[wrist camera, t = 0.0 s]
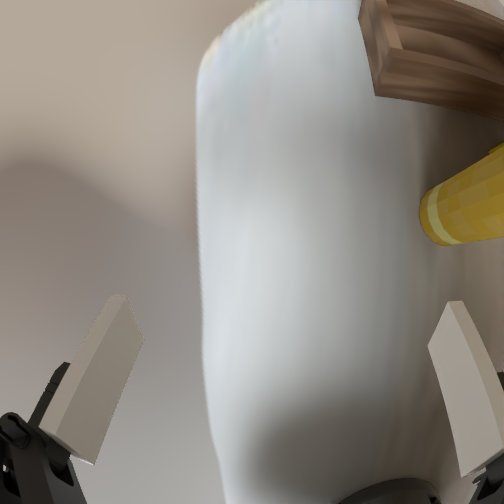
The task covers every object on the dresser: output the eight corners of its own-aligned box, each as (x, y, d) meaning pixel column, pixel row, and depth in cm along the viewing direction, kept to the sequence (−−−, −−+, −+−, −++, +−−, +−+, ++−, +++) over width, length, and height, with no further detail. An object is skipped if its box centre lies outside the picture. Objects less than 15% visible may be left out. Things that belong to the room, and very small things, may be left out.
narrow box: (526, 128, 24) (556, 108, 17) (375, 95, 27) (393, 57, 20) (499, 54, 25) (521, 29, 18) (358, 18, 28) (366, -21, 21)
